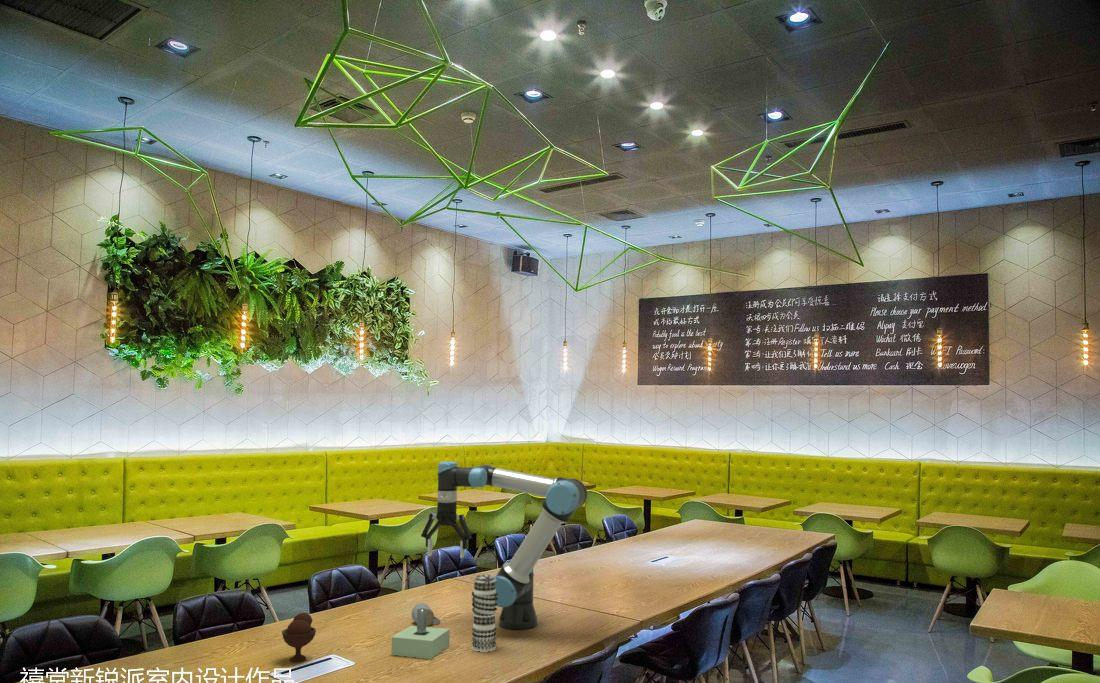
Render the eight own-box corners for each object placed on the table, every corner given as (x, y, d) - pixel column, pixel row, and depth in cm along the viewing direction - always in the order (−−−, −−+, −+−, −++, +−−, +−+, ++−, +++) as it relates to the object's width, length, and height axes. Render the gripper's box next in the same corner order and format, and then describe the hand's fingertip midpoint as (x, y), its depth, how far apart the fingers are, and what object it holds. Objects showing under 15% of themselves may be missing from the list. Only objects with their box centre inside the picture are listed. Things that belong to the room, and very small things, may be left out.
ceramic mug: (416, 629, 296) (417, 608, 297) (410, 623, 303) (411, 603, 304) (443, 626, 301) (443, 606, 301) (436, 621, 308) (437, 601, 309)
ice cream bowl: (284, 655, 263) (286, 609, 264) (318, 654, 264) (319, 609, 265) (276, 665, 253) (278, 618, 254) (311, 664, 253) (313, 617, 255)
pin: (427, 649, 270) (428, 608, 271) (423, 652, 267) (424, 611, 268) (418, 649, 271) (419, 608, 272) (414, 651, 268) (415, 610, 269)
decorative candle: (486, 654, 266) (487, 579, 268) (465, 649, 271) (466, 576, 273) (502, 647, 274) (503, 575, 276) (481, 643, 279) (482, 572, 281)
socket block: (449, 646, 274) (449, 629, 275) (431, 659, 260) (432, 641, 260) (410, 642, 278) (411, 625, 279) (391, 655, 264) (391, 637, 264)
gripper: (413, 501, 303) (412, 556, 301) (473, 503, 296) (472, 560, 294) (421, 499, 310) (420, 553, 308) (480, 501, 303) (479, 556, 301)
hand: (446, 556), depth 301 cm, fingers open, 13 cm apart
